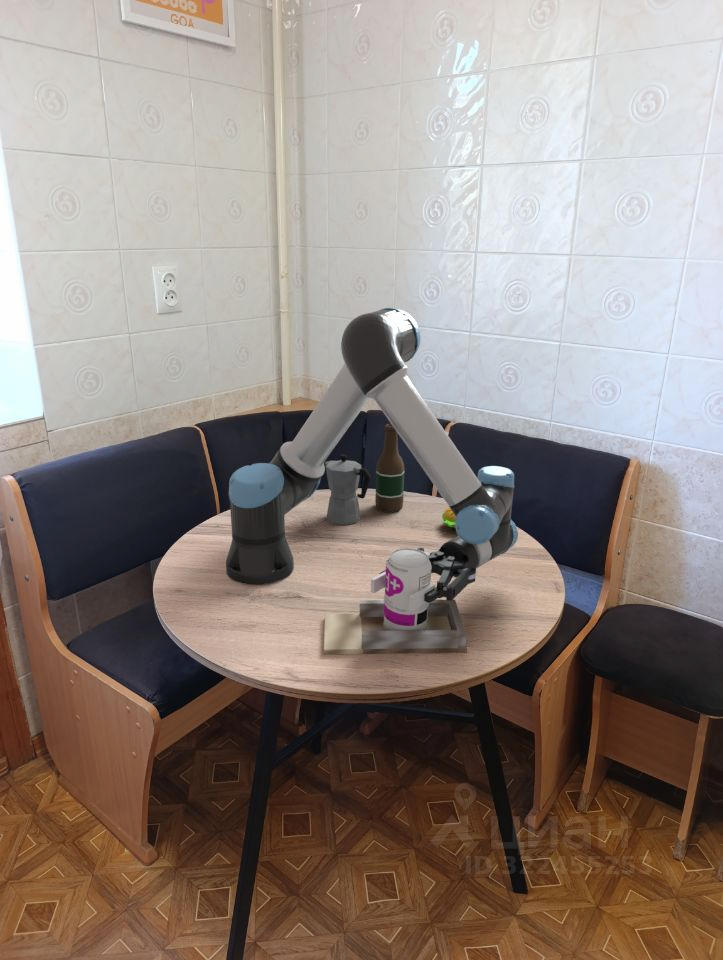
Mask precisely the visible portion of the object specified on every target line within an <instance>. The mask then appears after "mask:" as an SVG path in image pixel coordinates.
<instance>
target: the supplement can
mask: <svg viewBox="0 0 723 960" xmlns="http://www.w3.org/2000/svg"><path fill="white" fill-rule="evenodd" d="M417 549H418V548H416V549H415V548H411V547H410V548H409V547H407V548H405V547H404V548H399V549H395V550H393V551H392V552H391V553H390V554H389V558H388V559H386V561H387V562H385V570H386V576H385V588H384V597H383V598H384V599H383V600H384V617H383V625H384V628H385V629H386V630H387V631H421V630H426V628H427V621H428V608H429V603H428V602H427V603H425V604H423V605H422V606H420V607H418V608H417V609H415V610H413V611H410V610H409V596H410V595H412V594H414V593H416V592H417V591H419V590H421V589H423V588H425V587H426V586H428V585H430V584H431V583H432V582H431V581H432V580H431V579H432V573H431V569H432V566H431V563H430V561H429V558H428V555H427V554H426V553H427V552H426V553H424V552H425V551H424V552H422V551H420V550H417Z"/></svg>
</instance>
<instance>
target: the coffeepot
mask: <svg viewBox="0 0 723 960" xmlns="http://www.w3.org/2000/svg"><path fill="white" fill-rule="evenodd" d="M347 457H348V455H347V454H340V460H327V461H326V460H325V461H324V465H325V471H326V478H327V483H328V489H329V491H330V496H329V500H328V506H327V512H326V517H325V519H327V521H328V522H329V523H331V524H334V525H338V526H349V525H354V524H357V523H358V522H359V521H360V519H361V510H360V505H359V499H364V498H366V495H367V491H368V489H369V485H370V481H371V479H372V476H371V474H370V473H369V471H368V469H365V468H364V467H362V466H363V465H362V464H360V463H358V462H357V461H355V460H347V459H348V458H347ZM360 476H363V477H364V479H363V482H362V483H363V484H362V487H361V492H360V493H357V491H358V488H359V482H360V478H361V477H360Z"/></svg>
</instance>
